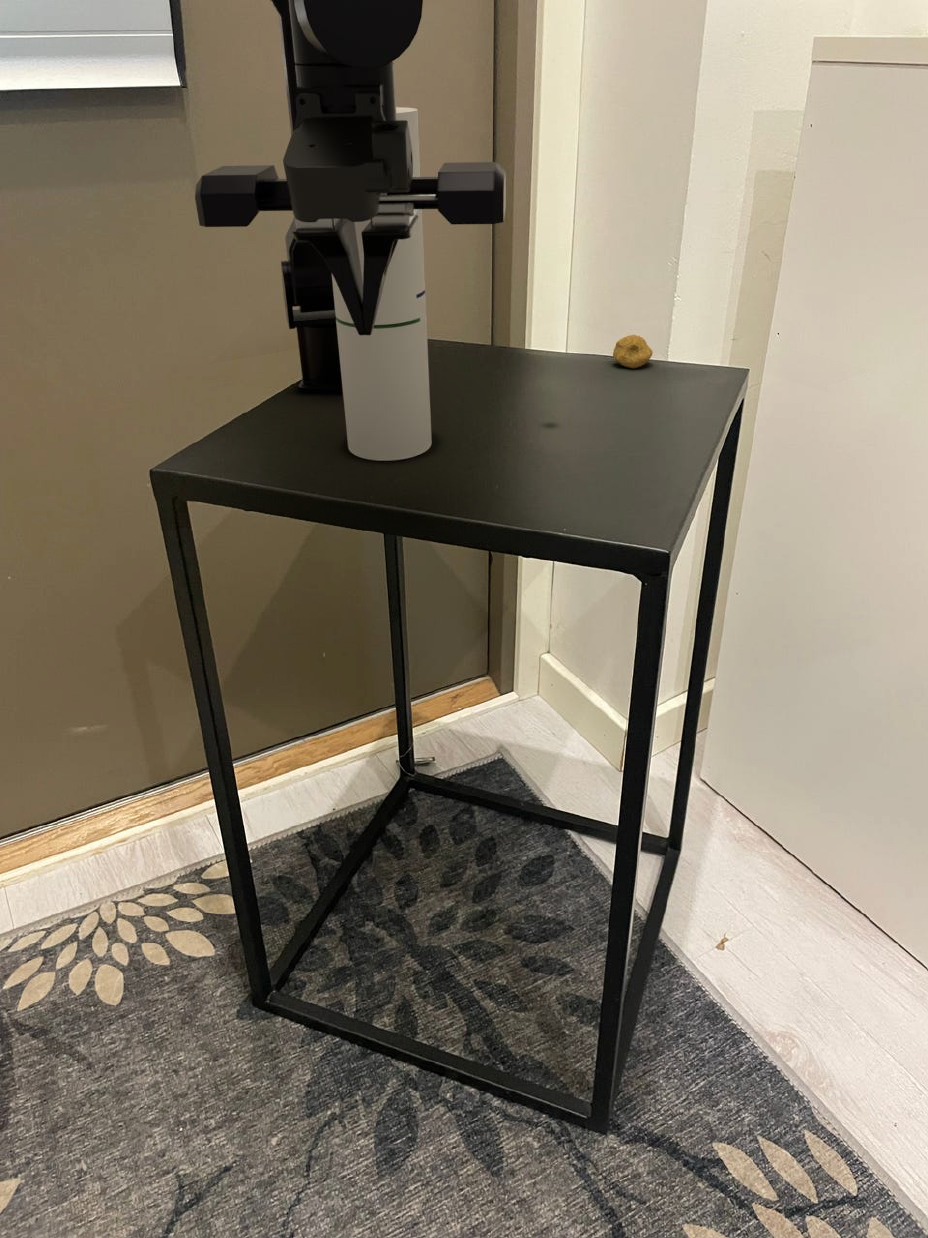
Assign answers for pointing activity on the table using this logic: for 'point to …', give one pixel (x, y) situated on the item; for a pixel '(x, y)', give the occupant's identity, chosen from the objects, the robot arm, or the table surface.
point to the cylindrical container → (389, 350)
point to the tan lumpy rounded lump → (632, 351)
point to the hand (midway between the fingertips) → (365, 333)
